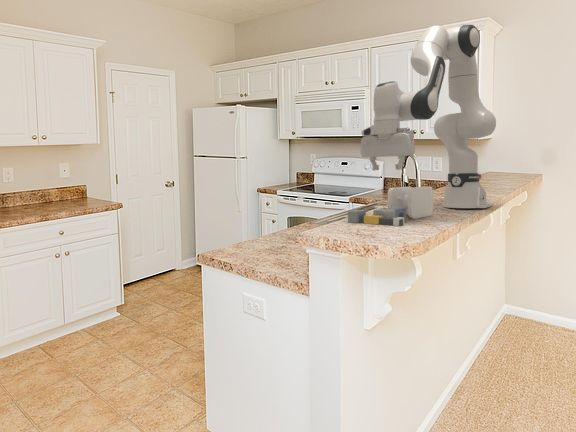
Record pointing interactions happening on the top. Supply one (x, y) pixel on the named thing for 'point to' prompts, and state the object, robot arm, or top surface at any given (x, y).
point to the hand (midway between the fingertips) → (387, 169)
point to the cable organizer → (412, 200)
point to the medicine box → (390, 213)
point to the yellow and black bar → (382, 220)
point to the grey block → (355, 216)
